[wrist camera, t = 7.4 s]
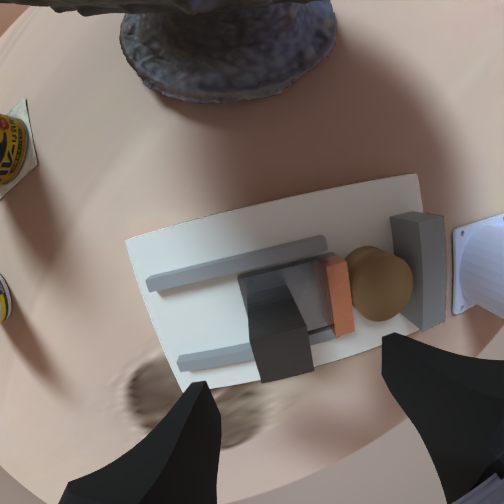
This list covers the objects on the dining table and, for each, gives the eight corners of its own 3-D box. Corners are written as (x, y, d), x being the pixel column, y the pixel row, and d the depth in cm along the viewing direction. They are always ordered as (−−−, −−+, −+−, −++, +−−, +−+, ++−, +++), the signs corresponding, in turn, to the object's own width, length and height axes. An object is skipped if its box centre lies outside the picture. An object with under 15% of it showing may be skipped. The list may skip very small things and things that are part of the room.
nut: (387, 239, 17) (411, 248, 14) (392, 294, 18) (413, 310, 15) (333, 254, 17) (351, 265, 14) (341, 310, 18) (357, 330, 15)
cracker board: (406, 174, 18) (448, 171, 13) (418, 319, 20) (451, 345, 15) (133, 236, 18) (99, 251, 13) (185, 381, 20) (174, 423, 15)
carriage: (331, 251, 17) (377, 282, 11) (341, 314, 18) (381, 365, 12) (237, 274, 17) (235, 320, 11) (254, 336, 18) (260, 400, 12)
